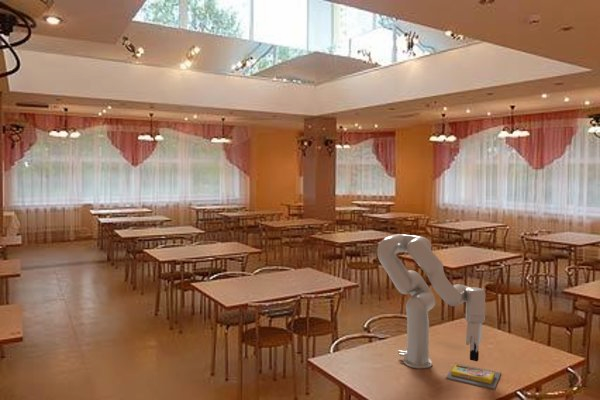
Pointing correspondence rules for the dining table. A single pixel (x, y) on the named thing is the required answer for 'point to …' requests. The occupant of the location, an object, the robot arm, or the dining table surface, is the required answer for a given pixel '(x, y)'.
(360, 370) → the dining table surface
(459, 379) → the mat
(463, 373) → the candy box
